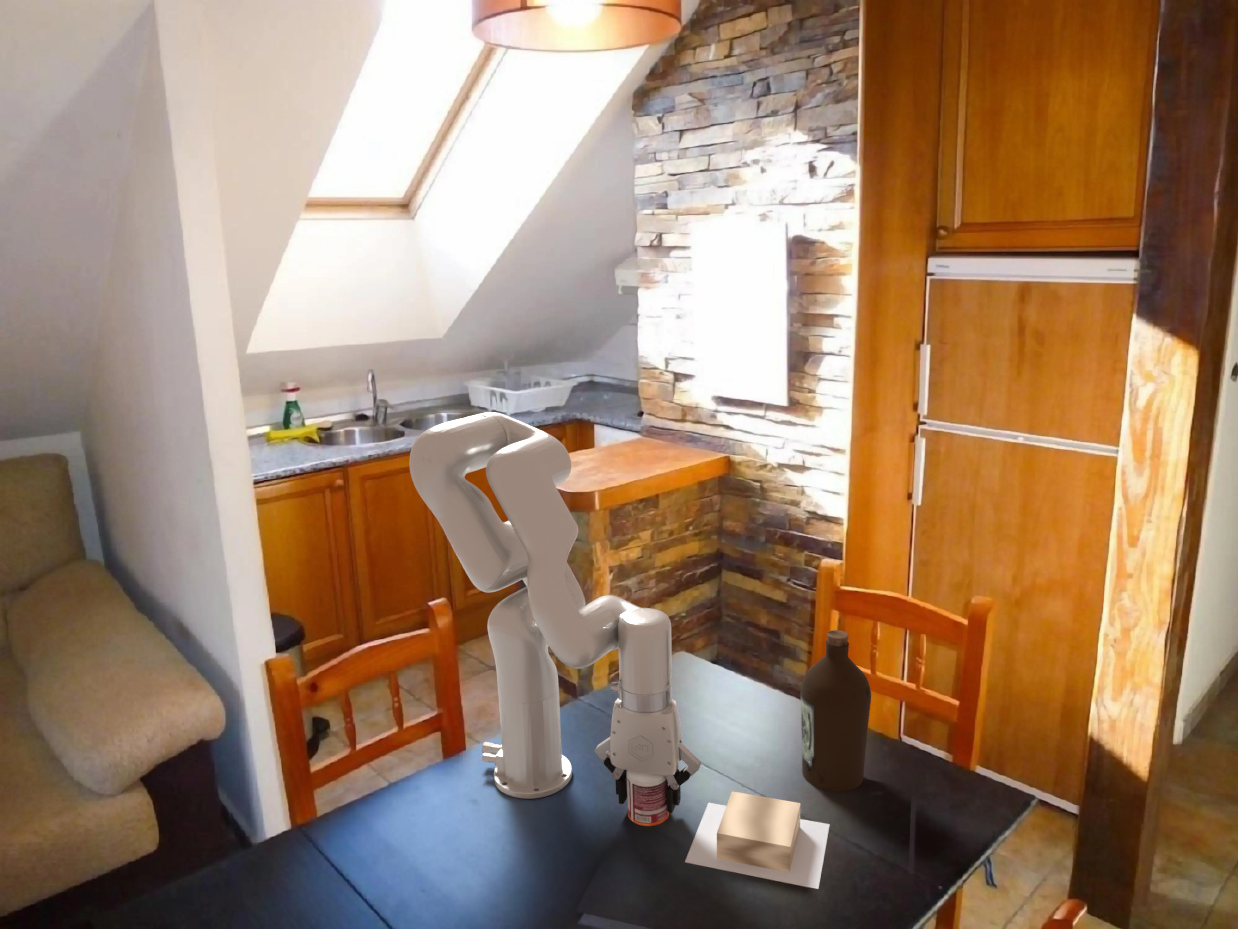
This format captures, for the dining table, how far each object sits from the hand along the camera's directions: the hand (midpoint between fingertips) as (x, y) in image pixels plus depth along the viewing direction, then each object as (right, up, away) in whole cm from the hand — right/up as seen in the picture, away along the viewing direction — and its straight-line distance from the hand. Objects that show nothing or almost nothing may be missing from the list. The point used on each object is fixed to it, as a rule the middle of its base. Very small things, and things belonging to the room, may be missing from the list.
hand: (648, 802), depth 133 cm
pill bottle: (0, -3, +1) cm, 3 cm away
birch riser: (+15, -3, -7) cm, 17 cm away
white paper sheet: (+15, -4, -7) cm, 17 cm away
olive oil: (+30, 0, +9) cm, 31 cm away
